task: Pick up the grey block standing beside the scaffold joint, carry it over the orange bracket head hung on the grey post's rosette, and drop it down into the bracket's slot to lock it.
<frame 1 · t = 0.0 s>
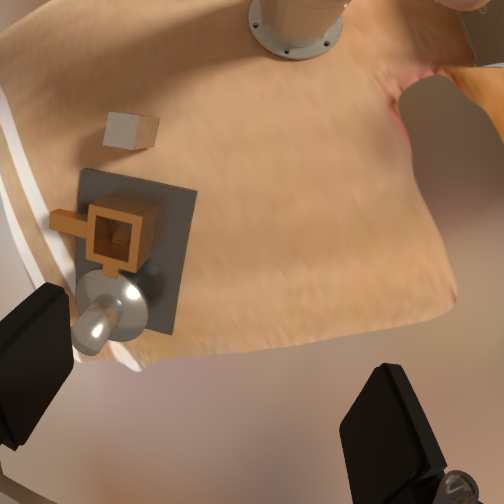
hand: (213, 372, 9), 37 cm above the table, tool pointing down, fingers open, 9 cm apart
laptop: (483, 20, 31), on the table
grey block: (146, 130, 41), on the table
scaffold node: (131, 224, 46), on the table
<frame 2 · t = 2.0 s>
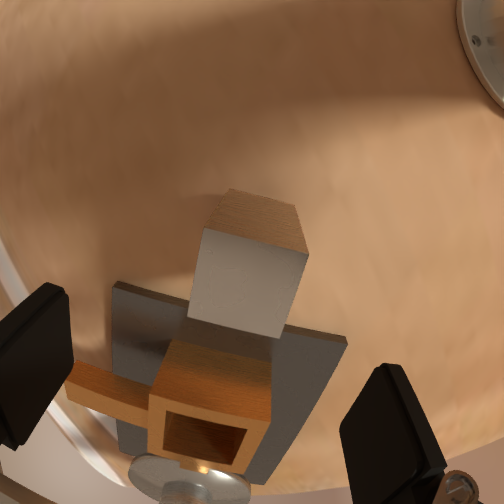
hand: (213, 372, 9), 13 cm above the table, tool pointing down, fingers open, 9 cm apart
grey block: (255, 222, 21), on the table
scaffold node: (214, 377, 26), on the table
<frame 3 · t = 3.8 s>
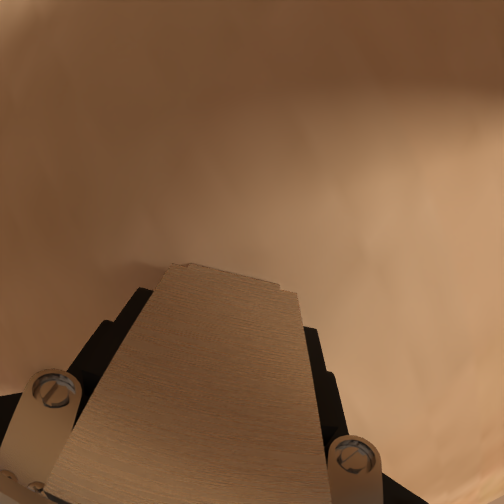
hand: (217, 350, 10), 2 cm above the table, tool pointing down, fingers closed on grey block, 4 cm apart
grey block: (225, 312, 12), on the table, touching gripper
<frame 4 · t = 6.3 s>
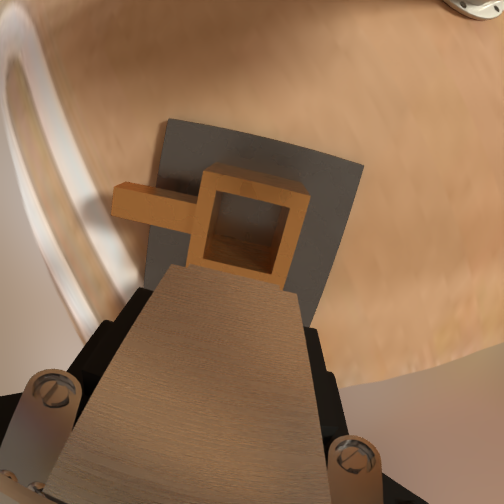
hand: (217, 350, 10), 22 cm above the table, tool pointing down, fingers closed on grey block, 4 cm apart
grey block: (225, 312, 12), point 20 cm above the table, touching gripper
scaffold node: (249, 210, 30), on the table
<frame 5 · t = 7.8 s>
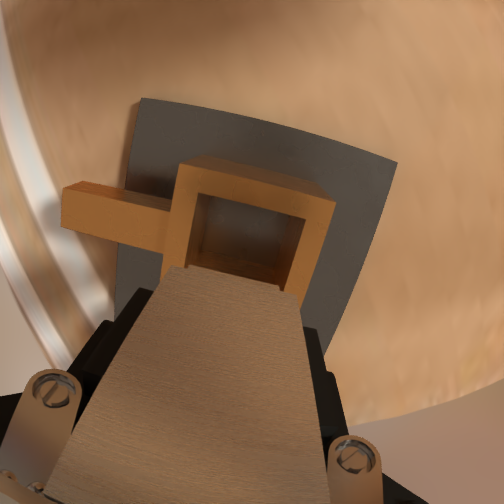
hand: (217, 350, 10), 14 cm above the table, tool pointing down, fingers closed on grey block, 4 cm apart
grey block: (225, 313, 12), point 12 cm above the table, touching gripper
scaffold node: (246, 219, 23), on the table
when the fingers open (9 cm above the table, at t = 9.1 s): grey block drops 5 cm, resting on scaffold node.
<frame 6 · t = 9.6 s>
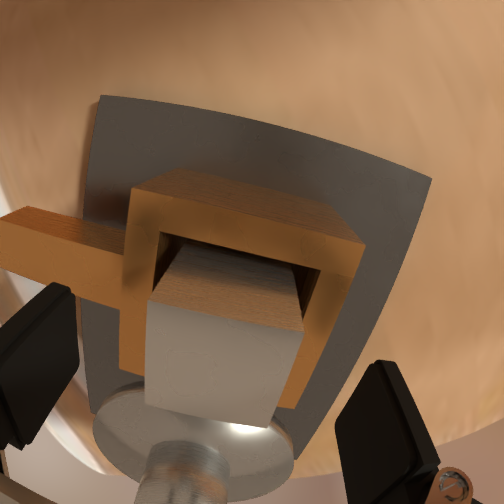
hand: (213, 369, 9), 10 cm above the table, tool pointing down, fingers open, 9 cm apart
grey block: (237, 257, 17), point 1 cm above the table, touching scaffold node
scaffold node: (237, 250, 18), on the table
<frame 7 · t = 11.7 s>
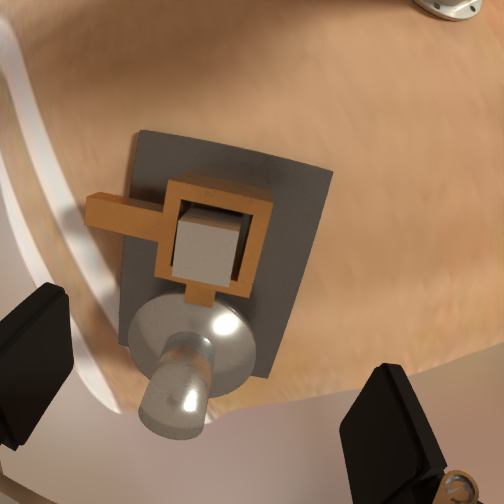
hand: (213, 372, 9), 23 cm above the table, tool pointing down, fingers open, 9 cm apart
grey block: (219, 221, 30), point 1 cm above the table, touching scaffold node
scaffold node: (220, 219, 31), on the table
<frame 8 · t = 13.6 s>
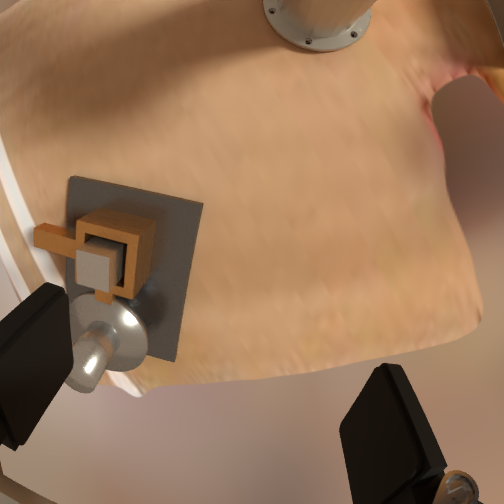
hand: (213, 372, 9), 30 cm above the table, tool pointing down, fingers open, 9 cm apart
grey block: (124, 242, 39), point 1 cm above the table, touching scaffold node
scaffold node: (127, 240, 40), on the table
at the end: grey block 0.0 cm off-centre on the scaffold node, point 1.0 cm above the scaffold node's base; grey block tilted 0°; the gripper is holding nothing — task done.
